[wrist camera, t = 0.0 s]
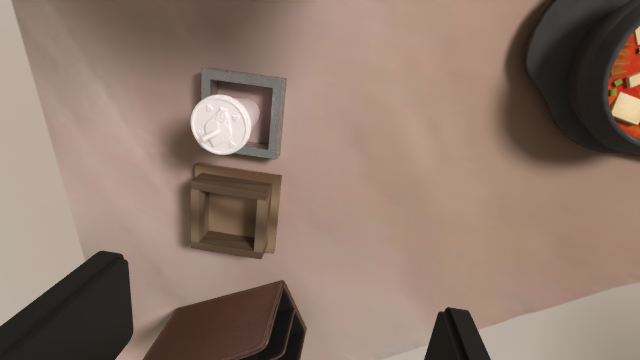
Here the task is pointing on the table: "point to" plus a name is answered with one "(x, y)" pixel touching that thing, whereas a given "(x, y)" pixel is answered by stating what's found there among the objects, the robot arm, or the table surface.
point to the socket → (234, 210)
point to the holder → (278, 99)
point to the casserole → (590, 71)
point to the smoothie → (223, 123)
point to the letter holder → (234, 328)
